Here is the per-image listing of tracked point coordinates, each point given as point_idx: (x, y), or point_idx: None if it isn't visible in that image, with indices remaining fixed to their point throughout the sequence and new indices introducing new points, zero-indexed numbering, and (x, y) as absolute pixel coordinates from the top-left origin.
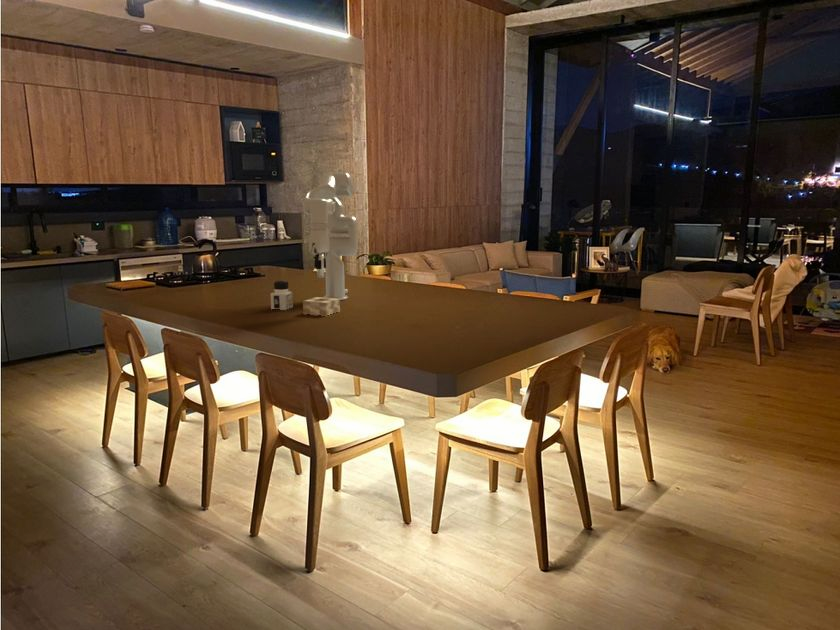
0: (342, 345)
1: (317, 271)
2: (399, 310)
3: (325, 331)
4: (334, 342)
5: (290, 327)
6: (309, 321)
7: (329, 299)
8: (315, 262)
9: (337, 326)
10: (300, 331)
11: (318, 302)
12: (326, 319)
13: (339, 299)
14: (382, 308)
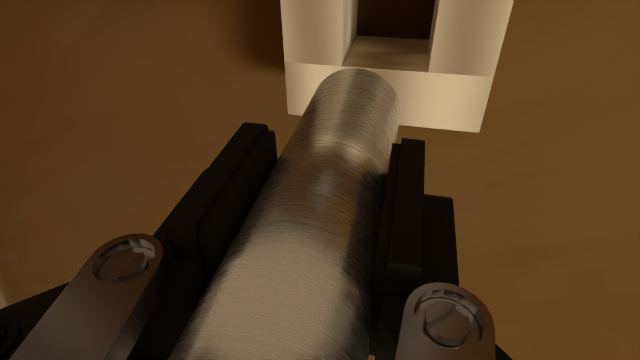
0: (29, 270)
1: (298, 123)
2: (561, 320)
3: (87, 192)
4: (30, 249)
5: (25, 44)
6: (162, 59)
7: (425, 76)
8: (168, 218)
9: (165, 201)
10: (22, 118)
11: (284, 55)
12: (243, 114)
13: (474, 129)
14: (618, 259)
